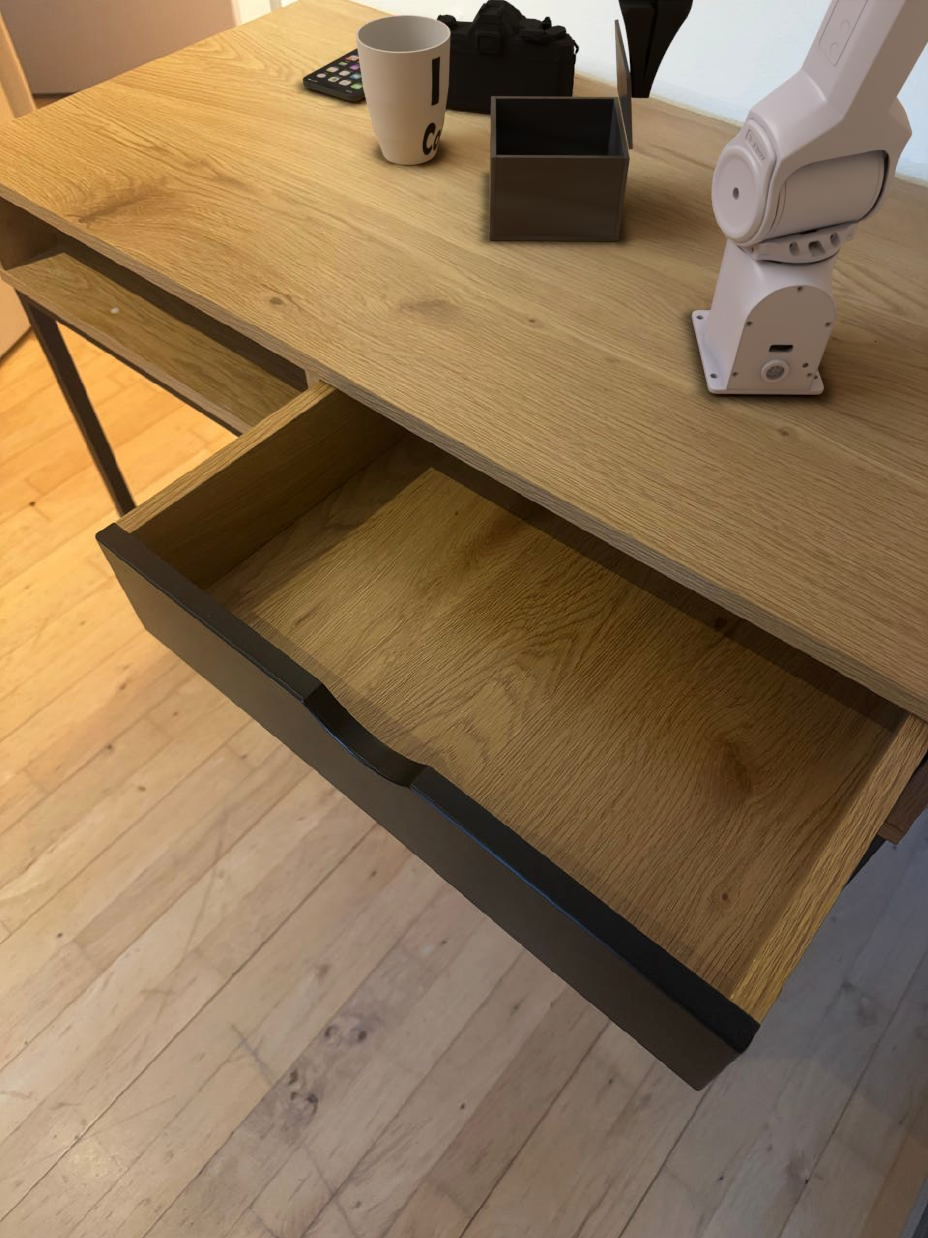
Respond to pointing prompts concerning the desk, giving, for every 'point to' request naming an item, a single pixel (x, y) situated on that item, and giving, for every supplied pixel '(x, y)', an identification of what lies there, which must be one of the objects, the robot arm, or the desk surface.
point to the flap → (623, 84)
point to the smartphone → (339, 78)
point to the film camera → (507, 57)
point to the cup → (405, 83)
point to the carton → (556, 168)
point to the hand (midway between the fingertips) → (639, 92)
